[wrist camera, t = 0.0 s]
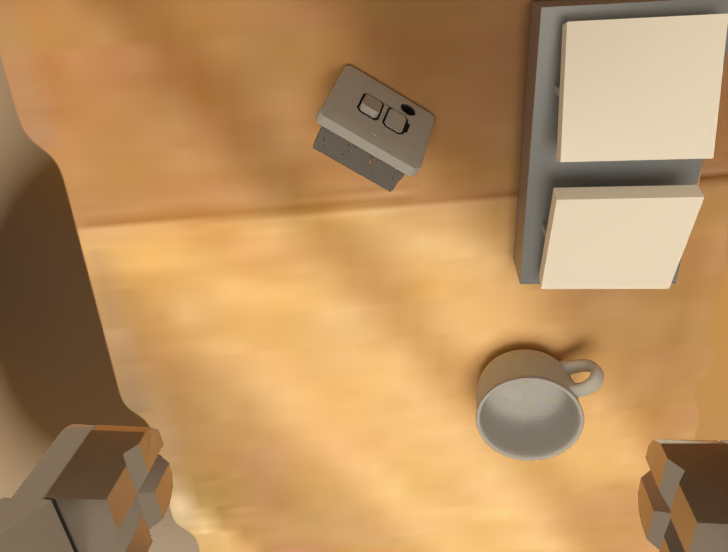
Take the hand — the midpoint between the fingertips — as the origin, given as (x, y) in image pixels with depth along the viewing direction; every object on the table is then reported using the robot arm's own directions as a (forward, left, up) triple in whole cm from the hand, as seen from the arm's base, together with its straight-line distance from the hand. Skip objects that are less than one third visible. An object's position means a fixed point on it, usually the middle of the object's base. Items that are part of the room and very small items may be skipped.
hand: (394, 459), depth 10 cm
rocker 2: (+15, +16, -41) cm, 46 cm away
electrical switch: (+6, -4, -48) cm, 49 cm away
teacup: (+35, +12, -48) cm, 61 cm away
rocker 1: (+3, +16, -41) cm, 44 cm away
